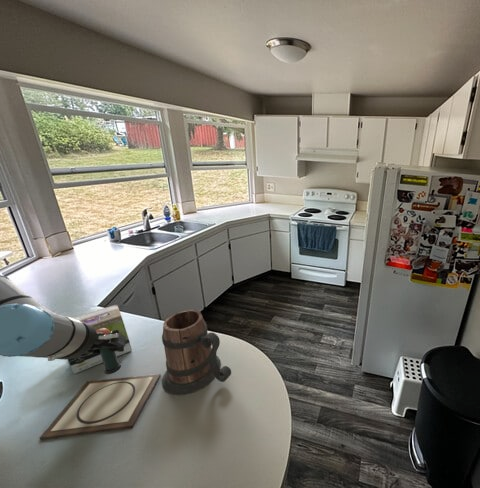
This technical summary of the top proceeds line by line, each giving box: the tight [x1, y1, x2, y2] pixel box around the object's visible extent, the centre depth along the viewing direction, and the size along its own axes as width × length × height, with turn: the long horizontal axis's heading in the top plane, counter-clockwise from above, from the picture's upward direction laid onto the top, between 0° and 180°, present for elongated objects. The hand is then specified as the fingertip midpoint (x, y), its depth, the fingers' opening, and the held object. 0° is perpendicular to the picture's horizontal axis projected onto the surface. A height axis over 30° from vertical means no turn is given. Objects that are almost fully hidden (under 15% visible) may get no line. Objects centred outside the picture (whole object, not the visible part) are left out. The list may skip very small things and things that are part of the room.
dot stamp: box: [96, 328, 122, 375], centre depth 66 cm, size 4×4×13 cm
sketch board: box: [39, 373, 161, 441], centre depth 69 cm, size 20×16×1 cm
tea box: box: [67, 304, 133, 375], centre depth 83 cm, size 15×10×15 cm
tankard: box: [161, 309, 232, 396], centre depth 76 cm, size 24×17×20 cm
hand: (114, 347), depth 71 cm, fingers closed on dot stamp, 3 cm apart
